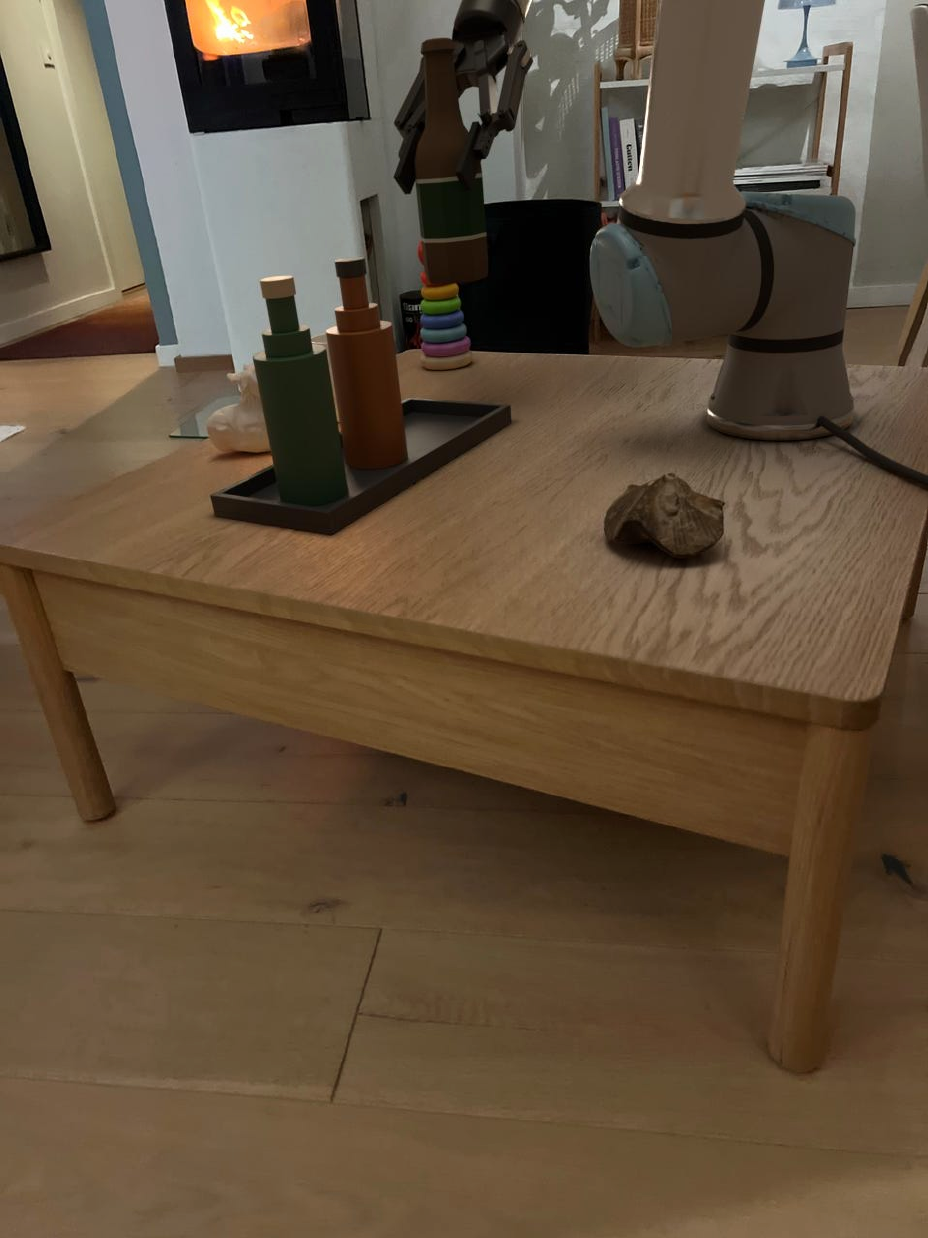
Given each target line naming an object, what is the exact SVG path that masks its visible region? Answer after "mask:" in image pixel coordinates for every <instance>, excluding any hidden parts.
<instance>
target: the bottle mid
mask: <svg viewBox="0 0 928 1238" xmlns="http://www.w3.org/2000/svg"><path fill="white" fill-rule="evenodd" d="M334 268H335V274H336V277H337V278H338V280H339V288H340V294H341V295H340V296H341V301H342V305H341V306H337V307H335V308H334V317H335V322H336V325H334V326H331V327H329V328H327V329H326V330H325V333H326V337H327V343H328V350H329V356H330V363H331V369H332V376H333V382H334V389H335V395H336V402H337V408H338V415H339V421H340V422H339V427H340V428H339V429H340V431H341V434H342V441H343V447H344V454H345V460H346V464H347V465H348V466H349V467H351V468H354V469H361V470H373V469H382V468H387V467H391V466H395V465H397V464H400V463H402V462H404V461H405V460H406V459H407V458H408V451H407V443H406V435H405V426H404V418H403V410H402V401H403V400H402V395H401V387H400V385H401V384H400V378H399V369H398V362H397V361H398V360H397V353H396V345H395V335H394V328H393V327H394V325H393V323H392V322H390V321H386V320H381V318H380V317H381V316H380V310H379V305H378V303H375V302H369V301H370V300H369V295H368V294H369V293H368V286H367V277H366V275H367V274H368V272H367V264H366V258H365V257H364V256H352V257H351V256H350V257H344V258H338V259H336V260H334Z"/></svg>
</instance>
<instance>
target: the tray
mask: <svg viewBox="0 0 928 1238" xmlns="http://www.w3.org/2000/svg"><path fill="white" fill-rule="evenodd" d="M401 401H402V410H403V418H404V426H405V435H406V443H407V451H408V458H407V459H406V460H405V461H404V462H402V463H400V464H397V465H395V466H391V467H387V468H382V469H373V470H361V469H354V468H351V467H349V466H348V465H347V464H346V460H345V454H344V447H343V441H342V434H341V430H339V435H340V441H341V448H342V454H343V461H344V467H345V473H346V480H347V486H348V491H347V493H346V494H345V495H344V496H343V497H341V498H339V499H337V500H335V501H332V502H329V503H326V504H322V505H316V506H304V505H297V504H290V503H283V502H281V500H280V496H279V491H278V486H277V481H276V476H275V470H274V465H273V463H272V464H270V465H268V466H267V467H263V469H261V470H258V471H256V472H255V473H252V474H250V475H248V476H246V477H244V478H242V479H239V480H237V481H236V482H234V483H232V484H230V485H228V486H225V487H224V488H222V489H219V490H218V491H216V492H213V493H212V494H210V495H209V498H210V501H211V506H212V510H213V515H214V516H215V517H219V518H224V519H232V520H238V521H243V522H249V523H250V522H251V523H256V524H261V525H262V524H263V525H269V526H274V527H281V528H287V529H294V530H299V531H305V532H310V533H318V534H323V535H329V536H332V535H333V534H335V533H337V532H339V531H341V530H342V529H344V528H345V527H347V526H348V525H350V524H352V523H353V522H354V521H356V520H359V518H361V517H363V516H364V515H366V514H367V513H369V512H371V511H372V510H374V509H376V508H377V507H379V506H381V505H382V504H384V503H385V502H387V501H389V500H390V499H391V498H393V497H395V496H396V495H398V494H399V493H401V492H403V491H404V490H406V489H408V488H409V487H411V486H412V485H414V484H416V483H417V482H419V481H420V480H422V479H424V478H425V477H427V476H428V475H430V474H432V473H433V472H435V471H436V470H438V469H440V468H441V467H443V466H445V465H446V464H447V463H449V462H451V461H452V460H454V459H456V458H457V457H458V456H460V455H462V454H464V453H466V451H468V450H470V449H471V448H473V447H475V446H476V445H478V444H479V443H481V442H482V441H485V440H486V439H487V438H489V437H491V436H492V435H494V434H496V433H497V432H498V431H500V430H502V429H504V428H505V427H507V426H508V425H510V424H511V423H512V422H513V420H512V419H513V418H512V405H511V403H510V404H508V403H494V402H479V401H465V400H450V399H435V398H421V397H407V398H404V399H403V400H401Z"/></svg>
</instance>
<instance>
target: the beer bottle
mask: <svg viewBox="0 0 928 1238" xmlns="http://www.w3.org/2000/svg"><path fill="white" fill-rule="evenodd" d="M420 47H421V48H420V51H419V52H420V54H421V55H422V57H423V56H424V74H425V99H426V120H425V129H424V132H423V134H422V136H421V138H420V141H419V143H418V145H417V151H416V156H415V161H414V162H415V183H414V184H415V192H416V203H417V212H418V222H419V231H420V233H419V234H420V241H421V243H422V253H423V263H424V266H423V267H424V268H423V269H424V270H425V276H426V279H427V280H428V282H430V283H431V284H455V283H456V284H462V283H463V284H464V283H472V282H476V281H479V280H482V279H486V278H488V275H489V253H488V252H489V251H488V236H487V223H486V207H485V194H484V193H485V191H484V177H483V169H482V162H481V163H480V166H479V169H478V172H477V175H476V177H475V180H474V183H473V186H472V189H471V190H466V191H465V189H464V188H463V186H462V184H461V183H460V181H459V179H458V178H457V176H456V174H455V170H456V167H457V164H458V161H459V159H460V156H461V153H462V150H463V147H464V144H465V142H466V139H467V136H468V133H469V130H468V129H467V127H466V126H465V123H464V121H463V116H462V111H461V108H460V98H459V99H458V91H457V83H456V75H455V68H454V60H453V51H454V50H455V46H454V43H453V40H452V38H449V37H436V38H435V37H434V38H428V39H425V40H423V42H421V46H420Z"/></svg>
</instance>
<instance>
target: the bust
mask: <svg viewBox="0 0 928 1238" xmlns="http://www.w3.org/2000/svg"><path fill="white" fill-rule="evenodd" d="M242 366H243V368H242V369H243V370H242V371H236V372H235V373H231V372H229V373H227V374H226V378H227V380H228V381H229V382H230V383H231V384H236V385H237V386H238V387H239V390H240V398H241V399H240V401H239V402H238V403H237V404H229V405H225V406H224V407H222V408H219V409H217V410H215V411H214V412H213V413H212V414H211V415H210V416H209V417H208V418H207V421H206V432H207V435H208V437H209V439H210V441H211V443H212V444H213V446H214V447H215V448H216V449H217V450H218V451H220V452H223V453H228V452H247V453H257V454H259V453H265V452H267V453H268V452H271V450H270V445H269V440H268V434H267V429H266V424H265V419H264V414H263V409H262V403H261V398H260V393H259V388H258V383H257V378H256V373H255V367H254V362H253V363H250V364H246V363H244V364H242Z"/></svg>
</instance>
